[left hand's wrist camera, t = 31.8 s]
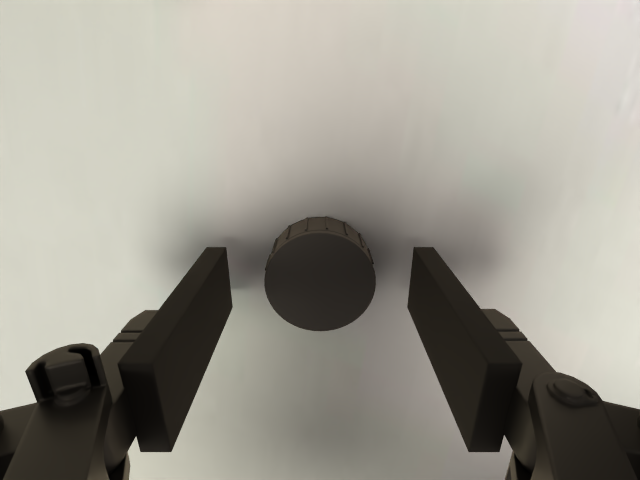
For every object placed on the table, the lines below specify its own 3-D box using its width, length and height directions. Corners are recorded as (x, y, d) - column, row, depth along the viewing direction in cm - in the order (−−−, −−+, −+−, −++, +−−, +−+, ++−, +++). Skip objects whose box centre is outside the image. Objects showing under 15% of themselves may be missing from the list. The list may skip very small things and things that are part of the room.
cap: (273, 209, 14) (266, 225, 13) (378, 221, 15) (386, 238, 13) (266, 301, 16) (259, 326, 14) (361, 311, 16) (366, 337, 14)
